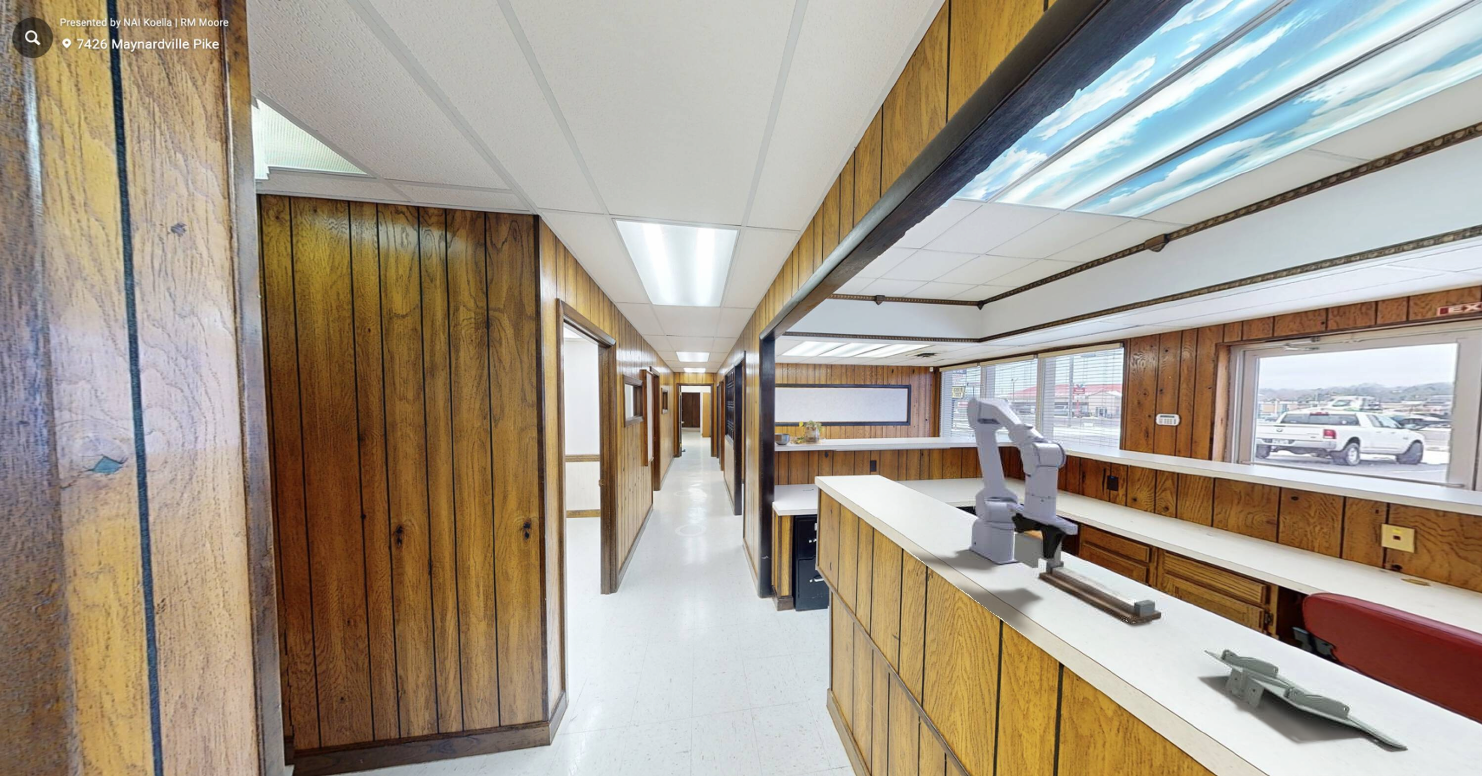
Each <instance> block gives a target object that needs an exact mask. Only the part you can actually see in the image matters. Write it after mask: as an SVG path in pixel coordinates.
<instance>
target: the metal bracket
mask: <svg viewBox="0 0 1482 776" xmlns="http://www.w3.org/2000/svg"><path fill="white" fill-rule="evenodd" d="M1204 652H1205V653H1207V654H1208V655H1209V656H1211V657H1213V658H1215V659H1216V660H1218V661H1219V662H1221V663H1223V664H1224V665H1226V666H1228V667H1229V668H1231V672H1230V674H1229V676H1228V679H1227V681H1226V684H1225V686H1224V689H1225V690H1227V691H1229V692H1232V694H1233V695H1235V696H1237V697H1238V698H1240V699H1241V700H1243V701H1244V702H1245V703H1247V704H1248V703H1249V705H1250V706H1252V707H1253V708H1255V709H1257V708H1258V705H1259V703H1260V700H1261V698H1262V695H1263V692H1264V690H1267V691H1269V692H1271V693H1272V694H1274V695H1276V696H1277V697H1279V698H1281V699H1283V700H1284V701H1285V702H1287V703H1289V704H1290V705H1292V706H1293V707H1295V708H1297V709H1299V710H1302V711H1305V712H1309V713H1312V714H1315V715H1318V716H1319V717H1320V716H1321V717H1324V718H1327V719H1329V720H1333V721H1335V722H1340V723H1342V724H1344V725H1348V726H1351V727H1354V728H1357V729H1360V730H1362V731H1364V732H1366V733H1368V734H1370V736H1371V735H1372V736H1373V737H1375V738H1377V739H1379V740H1380V741H1381V742H1384V743H1385V744H1387V745H1390V746H1393V747H1397V748H1400V749H1402V750H1408V747H1407V746H1406V745H1404V744H1402V743H1401V742H1399V741H1397V740H1396V739H1394V738H1392V737H1390V736H1389V735H1387V734H1385V733H1383V732H1381V731H1380V730H1378V729H1376V728H1374V727H1372V725H1369V724H1368V723H1365V722H1363V721H1361V720H1360V719H1358V718H1357V717H1355V716H1353V715H1352V714H1350V708H1351V707H1349V706H1348V705H1347V704H1344V703H1343V702H1341V701H1339V700H1336V699H1333V698H1330V697H1328V696H1323V695H1321V694H1317V693H1312V692H1311V691H1309V690H1307V689H1305V687H1302V686H1300V685H1298V684H1297V683H1294V682H1293V681H1291V680H1290V679H1288V678H1285V677H1284V676H1282V675H1281V674H1279V671H1280V670H1279V667H1278V666H1276V665H1274V664H1273V663H1271V662H1267V661H1264V660H1261V659H1259V658H1255V657H1254V656H1253V657H1252V656H1242V655H1238V654H1237V653H1235V652H1233V651H1231V650H1230V649H1228V648H1226V649H1224V650H1223V651H1222V653H1221V654H1218V653H1216V652H1212V651H1209V650H1206V649H1204ZM1254 690H1255V691H1254Z"/></svg>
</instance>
